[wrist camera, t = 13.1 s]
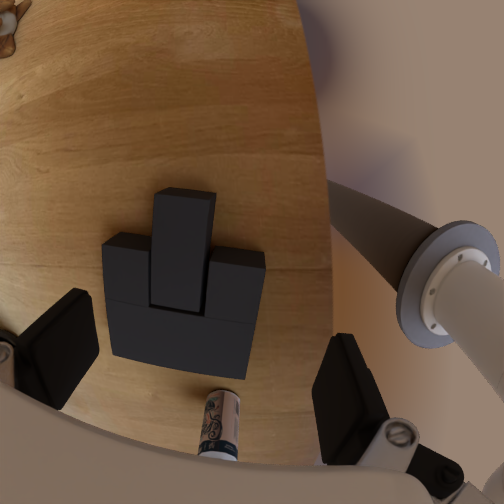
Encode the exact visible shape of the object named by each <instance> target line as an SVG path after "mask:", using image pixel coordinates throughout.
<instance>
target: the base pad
mask: <svg viewBox="0 0 504 504" xmlns="http://www.w3.org/2000/svg"><path fill="white" fill-rule="evenodd" d="M151 246H152V236H146V235H139V234H132V233H125V232H119V233H118V234H116V235H115V236H113V237H112V238H110V239H109V240H108V241H106V242H105V243H103V244H102V263H103V280H104V292H105V302H106V311H107V319H108V327H109V334H110V341H111V347H112V353H113V355H115V356H119V357H123V358H127V359H131V360H135V361H139V362H143V363H147V364H152V365H157V366H161V367H166V368H171V369H176V370H182V371H187V372H193V373H199V374H205V375H212V376H219V377H226V378H234V379H242V380H245V376H246V371H247V366H248V361H249V356H250V351H251V346H252V341H253V335H254V330H255V325H256V320H257V315H258V309H259V304H260V299H261V293H262V288H263V283H264V277H265V272H266V265H265V256H264V252H258V251H251V250H244V249H237V248H230V247H223V246H215V249H214V251H213V254H212V256H211V259H210V262H209V272H208V282H207V293H206V295H204V298H203V301H202V304H201V308H200V311H199V312H195V311H188V310H183V309H177V308H171V307H166V306H160V305H155V304H151Z"/></svg>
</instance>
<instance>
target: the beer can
mask: <svg viewBox="0 0 504 504" xmlns="http://www.w3.org/2000/svg"><path fill="white" fill-rule="evenodd" d="M239 410H240V400H239V398H238V396H237V395H235V394H234V393H232V392H229V391H224V390H218V391H214V392H212V393H210V394H209V395H208V397H207V400H206V406H205V412H204V418H203V424H202V431H201V437H200V443H199V450H198V455H199V456H205V457H210V458H217V459H223V460H231V461H237V454H238V432H239Z"/></svg>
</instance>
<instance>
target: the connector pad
mask: <svg viewBox="0 0 504 504" xmlns="http://www.w3.org/2000/svg"><path fill="white" fill-rule="evenodd" d="M215 202H216V193H213V192H205V191H197V190H189V189H180V188H171V187H169V188H166V189H164V190H162V191H159V192H157V193H155V194H154V207H153V224H152V246H151V304H155V305H160V306H166V307H171V308H177V309H183V310H188V311H195V312H199V311H200V308H201V304H202V301H203V298H204V295H205V292H206V283H207V273H208V263H209V253H210V244H211V235H212V227H213V218H214V210H215Z"/></svg>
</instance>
